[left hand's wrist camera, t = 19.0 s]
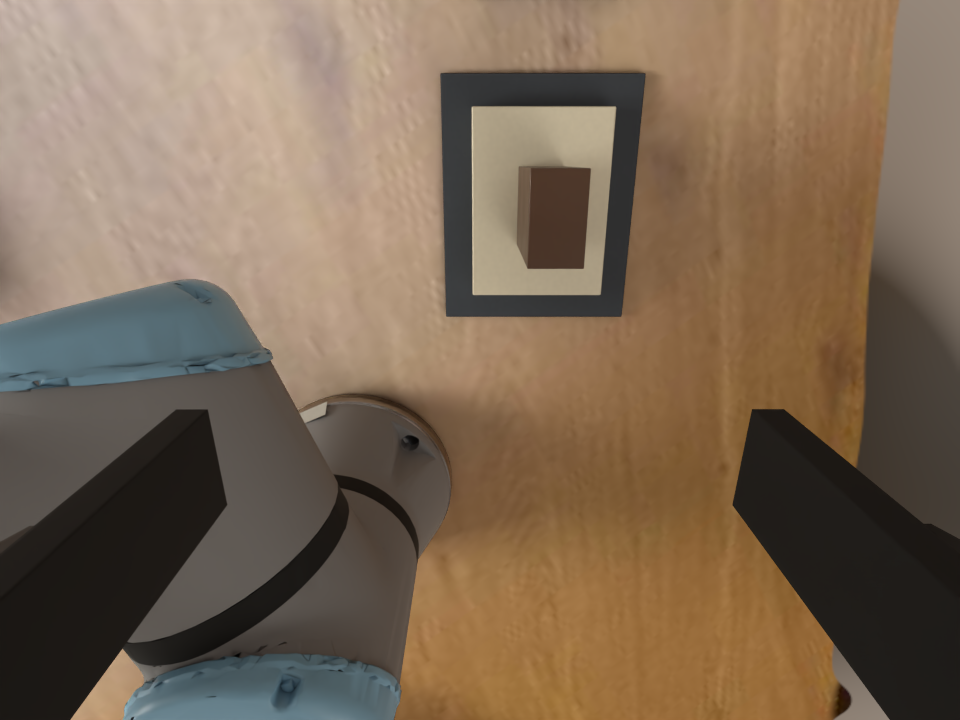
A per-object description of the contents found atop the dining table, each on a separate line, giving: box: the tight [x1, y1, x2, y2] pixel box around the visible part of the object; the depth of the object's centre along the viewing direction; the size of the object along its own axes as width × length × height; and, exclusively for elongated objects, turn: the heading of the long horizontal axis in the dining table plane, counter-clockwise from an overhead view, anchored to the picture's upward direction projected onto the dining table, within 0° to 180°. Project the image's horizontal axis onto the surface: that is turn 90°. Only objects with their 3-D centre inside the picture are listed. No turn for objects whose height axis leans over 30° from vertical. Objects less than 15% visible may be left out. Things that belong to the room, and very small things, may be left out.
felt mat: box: [441, 73, 645, 317], centre depth 36 cm, size 16×13×1 cm
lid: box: [472, 106, 616, 295], centre depth 31 cm, size 12×9×10 cm
